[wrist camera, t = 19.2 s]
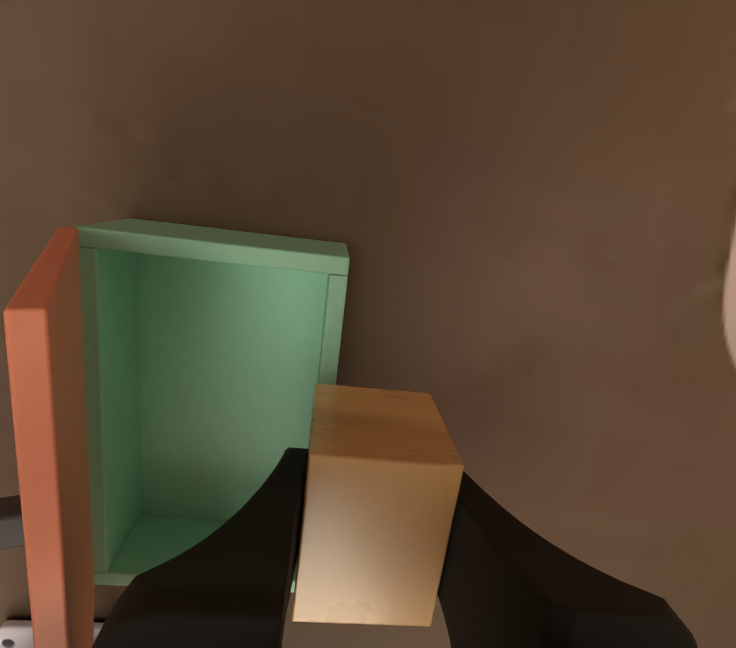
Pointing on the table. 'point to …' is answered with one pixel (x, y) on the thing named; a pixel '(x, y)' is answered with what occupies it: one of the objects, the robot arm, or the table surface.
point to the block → (374, 508)
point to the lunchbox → (196, 375)
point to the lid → (51, 446)
